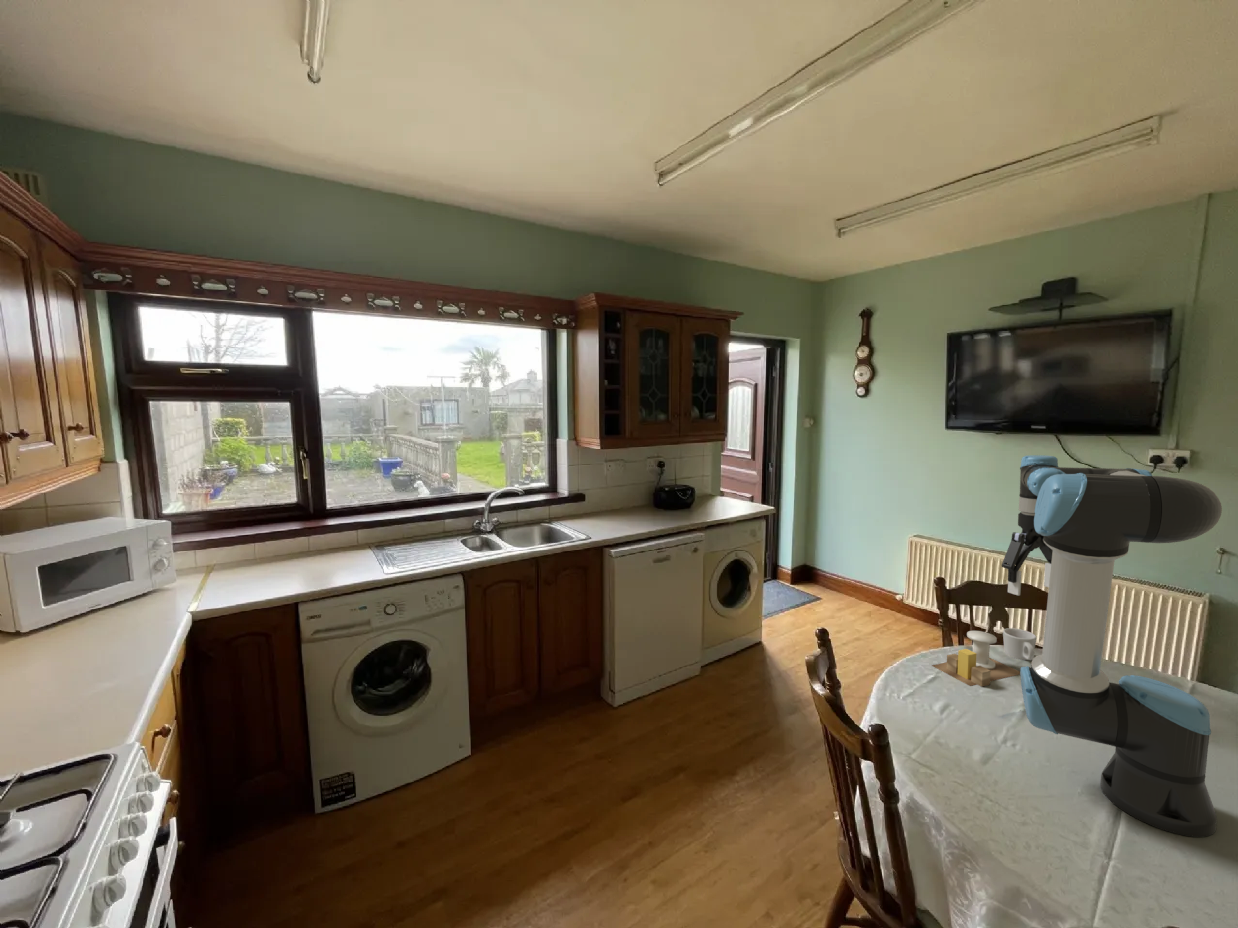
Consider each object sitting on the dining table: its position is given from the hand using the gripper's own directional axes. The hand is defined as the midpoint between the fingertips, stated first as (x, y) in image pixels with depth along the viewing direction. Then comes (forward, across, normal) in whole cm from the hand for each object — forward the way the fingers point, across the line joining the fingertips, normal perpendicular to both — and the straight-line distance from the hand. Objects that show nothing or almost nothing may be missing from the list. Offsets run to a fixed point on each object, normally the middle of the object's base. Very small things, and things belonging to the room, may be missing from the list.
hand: (1032, 590), depth 136 cm
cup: (+27, -12, -10) cm, 31 cm away
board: (+27, +7, -9) cm, 29 cm away
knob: (+26, +3, -11) cm, 28 cm away
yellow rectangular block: (+26, +13, -7) cm, 30 cm away
